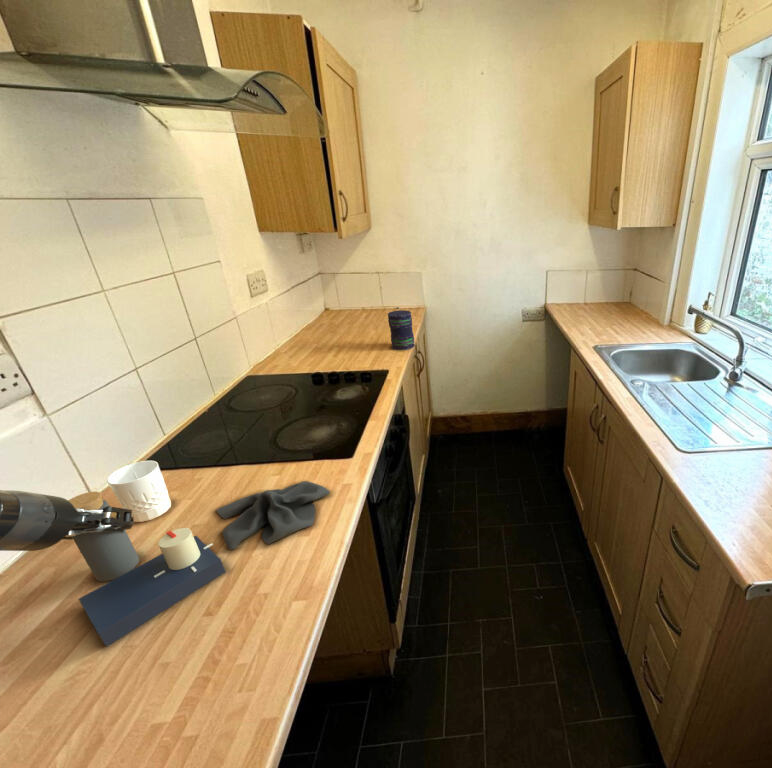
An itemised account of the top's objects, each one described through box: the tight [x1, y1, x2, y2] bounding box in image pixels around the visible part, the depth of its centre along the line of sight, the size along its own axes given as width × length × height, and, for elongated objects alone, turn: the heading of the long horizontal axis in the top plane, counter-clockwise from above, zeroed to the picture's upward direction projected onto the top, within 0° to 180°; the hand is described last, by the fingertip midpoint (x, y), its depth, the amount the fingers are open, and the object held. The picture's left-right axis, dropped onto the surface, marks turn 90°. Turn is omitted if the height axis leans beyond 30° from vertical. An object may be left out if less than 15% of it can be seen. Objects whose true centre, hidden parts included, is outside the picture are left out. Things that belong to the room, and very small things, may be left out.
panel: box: [78, 535, 226, 647], centre depth 69 cm, size 17×10×3 cm, turn 145°
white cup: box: [106, 460, 172, 523], centre depth 85 cm, size 8×8×10 cm
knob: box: [157, 527, 200, 570], centre depth 70 cm, size 4×4×5 cm
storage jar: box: [387, 306, 415, 351], centre depth 179 cm, size 10×10×18 cm
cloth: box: [216, 480, 331, 551], centre depth 84 cm, size 22×19×6 cm
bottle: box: [67, 491, 140, 583], centre depth 70 cm, size 6×6×15 cm
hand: (102, 527), depth 71 cm, fingers open, 7 cm apart
